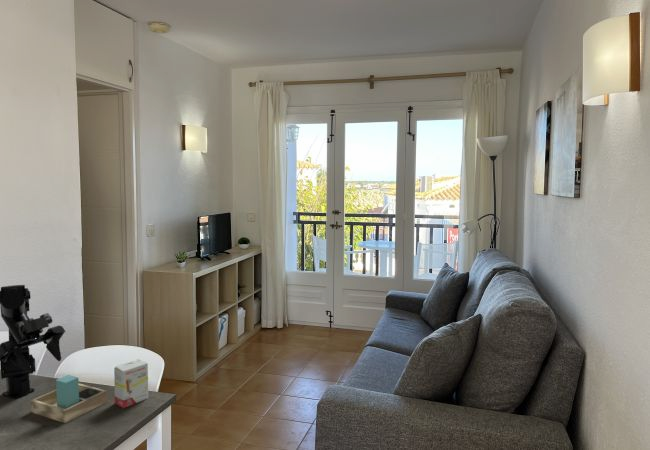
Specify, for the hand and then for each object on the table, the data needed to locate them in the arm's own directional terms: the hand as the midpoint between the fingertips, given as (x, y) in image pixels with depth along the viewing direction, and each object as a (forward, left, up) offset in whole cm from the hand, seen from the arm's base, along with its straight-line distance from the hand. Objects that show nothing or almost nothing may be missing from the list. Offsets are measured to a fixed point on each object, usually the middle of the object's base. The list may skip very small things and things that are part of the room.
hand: (45, 365), depth 143 cm
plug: (+9, 0, -13) cm, 15 cm away
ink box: (+18, +14, -13) cm, 27 cm away
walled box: (+5, +3, -13) cm, 15 cm away
